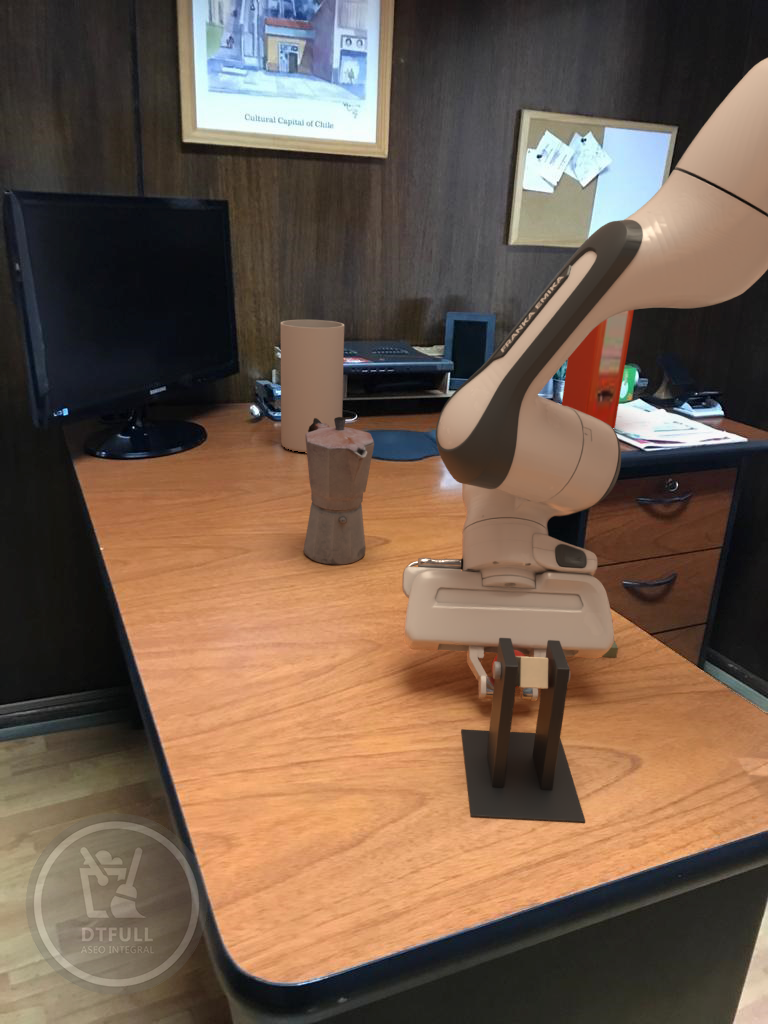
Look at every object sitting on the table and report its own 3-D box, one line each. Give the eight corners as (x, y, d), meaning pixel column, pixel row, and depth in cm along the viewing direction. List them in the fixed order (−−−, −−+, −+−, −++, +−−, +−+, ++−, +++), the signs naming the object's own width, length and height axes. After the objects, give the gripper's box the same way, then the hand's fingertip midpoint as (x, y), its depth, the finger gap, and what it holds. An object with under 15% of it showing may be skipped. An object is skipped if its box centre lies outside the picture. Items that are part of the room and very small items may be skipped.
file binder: (590, 416, 198) (609, 286, 186) (615, 433, 182) (636, 292, 170) (560, 415, 197) (576, 285, 186) (581, 433, 181) (600, 291, 170)
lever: (488, 686, 74) (489, 648, 74) (526, 688, 74) (527, 650, 74) (511, 694, 61) (512, 648, 61) (557, 697, 61) (557, 650, 61)
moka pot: (333, 579, 102) (335, 432, 95) (276, 540, 113) (275, 406, 106) (391, 564, 107) (397, 423, 100) (331, 528, 119) (333, 399, 112)
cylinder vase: (269, 443, 161) (268, 321, 153) (318, 435, 169) (319, 318, 160) (303, 458, 153) (304, 329, 144) (353, 448, 160) (357, 326, 152)
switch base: (460, 739, 71) (471, 616, 67) (557, 744, 71) (575, 621, 67) (469, 827, 61) (483, 688, 56) (583, 833, 61) (606, 695, 56)
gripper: (404, 545, 76) (399, 686, 70) (612, 555, 76) (624, 697, 70) (402, 567, 82) (397, 699, 76) (595, 576, 81) (605, 709, 76)
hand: (508, 698), depth 73 cm, fingers closed on lever, 2 cm apart
